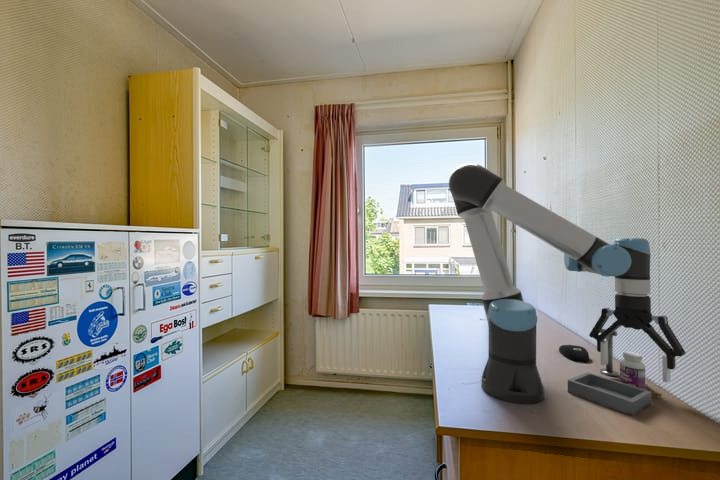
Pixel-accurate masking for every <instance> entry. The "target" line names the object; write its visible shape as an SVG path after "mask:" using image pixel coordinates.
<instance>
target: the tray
mask: <svg viewBox="0 0 720 480" xmlns="http://www.w3.org/2000/svg"><path fill="white" fill-rule="evenodd" d="M609 378H610V377H609ZM609 378H606V376H602V375H599V374H595V373H593V372H588V371H587V372H585V373H582V374H579V375H577V376H574V377H572V378H570V379H567V392H568V393H570V394H573V395H576V396H578V397H581V398H583V399H587V400H588V401H589V400H590V401H592V402H595V403H597V404H599V405H603V406H605V407H608V408H610V409H613V410H616V411H619V412H621V413H623V414H626V415H629V416H632V417H634V416H635V415H637V414H639V413H640V412H641V411H644V410H645V409H646V408H648V407H650V406H651V405H652V397H651V391H648V390H646V389H645V390H644V389H641V388H638V387H635V386H631V385H628V384H625V383H622V382H618V381H615V380H612V379H609Z"/></svg>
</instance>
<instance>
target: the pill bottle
mask: <svg viewBox="0 0 720 480" xmlns="http://www.w3.org/2000/svg"><path fill="white" fill-rule="evenodd" d="M642 361H643V355H642V354H640V353H636V352H634V351H633V352H632V351H623V353H622V358H621V359H620V360H619V379H620V382H622V383H625V384H628V385H631V386H635V387H638V388H641V389H644V390H646V389H645V384H646V365H645V364H644V363H643V362H642Z"/></svg>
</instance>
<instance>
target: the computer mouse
mask: <svg viewBox="0 0 720 480" xmlns="http://www.w3.org/2000/svg"><path fill="white" fill-rule="evenodd" d="M558 351H559V353H560V354H561V355H562V356H563V357H565V358H566V359H568V360H570V361H572V362H577V363H587V364H588V363H589V361H590V355H589V352H588V350H587V349H586V347H583V346H581V345H575V344H574V345H573V344H572V343H569V344H563V345H560V346H559V347H558Z"/></svg>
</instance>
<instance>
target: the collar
mask: <svg viewBox="0 0 720 480" xmlns="http://www.w3.org/2000/svg"><path fill="white" fill-rule="evenodd" d="M605 378H609V379H612V380H615V381H618V382H620V377H618V378H617V377H610V376H608V377H607V376H605ZM645 390H648V391H651V398H658V399H662V398H663V397H662V393H660V392H659V391H658V390H656V389H654V388H653V387H651V386H650V385H648V384H647V383H645Z"/></svg>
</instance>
